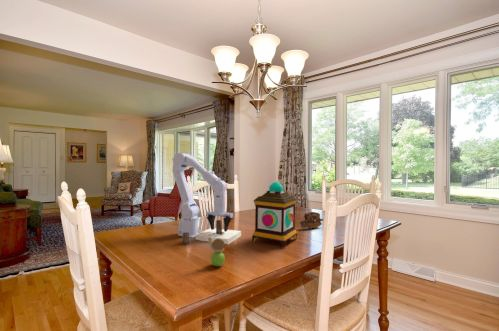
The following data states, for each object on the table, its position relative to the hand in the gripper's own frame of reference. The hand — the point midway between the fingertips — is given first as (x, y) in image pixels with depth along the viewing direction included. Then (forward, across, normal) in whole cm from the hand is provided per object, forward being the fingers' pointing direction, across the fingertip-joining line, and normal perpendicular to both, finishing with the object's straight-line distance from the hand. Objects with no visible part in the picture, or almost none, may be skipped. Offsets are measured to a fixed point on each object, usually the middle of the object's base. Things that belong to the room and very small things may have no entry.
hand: (219, 230), depth 136 cm
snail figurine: (+4, +16, -33) cm, 37 cm away
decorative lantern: (+4, +28, +7) cm, 29 cm away
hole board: (+4, 0, 0) cm, 4 cm away
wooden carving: (+4, +42, +40) cm, 58 cm away
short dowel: (+4, -10, -15) cm, 18 cm away
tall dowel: (+4, 0, 0) cm, 4 cm away
